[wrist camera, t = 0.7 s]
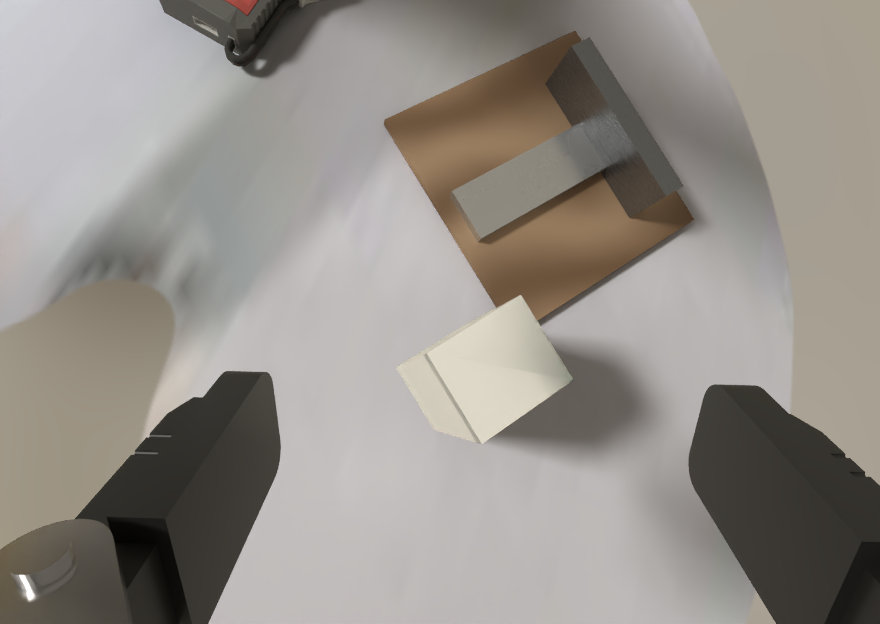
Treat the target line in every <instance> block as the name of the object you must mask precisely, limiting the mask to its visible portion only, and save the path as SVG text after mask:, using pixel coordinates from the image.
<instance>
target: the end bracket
mask: <svg viewBox="0 0 880 624" xmlns="http://www.w3.org/2000/svg"><path fill="white" fill-rule="evenodd" d="M545 84H546V86H547V88H548V89H549V91H550V92H551V94H552V96H553V97H554V99H555V100H556V102H557V104H558V105H559V107H560V108H561V110H562V112H563V113H564V115H565V116H566V118H567V120H568V121H569V123H570V124H571V126H572V127H573V126H575V125H577V124H580V126H581V127H582V129H583V130H584V132H585V134H586V135H587V137H588V138H589V140H590V142H591V143H592V145H593V146H594V148H595V150H596V151H597V153H598V154H599V156H600V158H601V159H602V161H603V162H604V164H605V166H606V168H605V169H604V170H602V171H601V174H602V175H603V177H604V179H605V180H606V182H607V183H608V185H609V187H610V188H611V190H612V191H613V193H614V195H615V196H616V198H617V199H618V201H619V202H620V204H621V206H622V207H623V209H624V210H625V212H626V214H627V215H628V217H629V218H630V217H632V216H634V215H636V214H637V213H639V212H641V211H642V210H644V209H646V208H647V207H649V206H651V205H652V204H654V203H656V202H657V201H659V200H661V199H662V198H664V197H666V196H667V195H669V194H671V193H672V192H674V191H676V190H677V189H679V188H680V187H682V186H683V184H682V183H681V181H680V180H679V178H678V177H677V175H676V173H675V172H674V170H673V169H672V167H671V165H670V164H669V162H668V161H667V159H666V158H665V156H664V154H663V153H662V151H661V150H660V148H659V146H658V145H657V143H656V142H655V140H654V139H653V137H652V135H651V134H650V132H649V131H648V129H647V127H646V126H645V124H644V123H643V121H642V120H641V118H640V116H639V115H638V113H637V112H636V110H635V108H634V107H633V105H632V104H631V102H630V101H629V99H628V97H627V96H626V94H625V93H624V91H623V89H622V88H621V86H620V85H619V83H618V82H617V80H616V78H615V77H614V75H613V74H612V72H611V70H610V69H609V67H608V66H607V64H606V63H605V61H604V59H603V58H602V56H601V55H600V53H599V51H598V50H597V48H596V47H595V45H594V44H593V42H592V40H591V39H590V37H589V38H587V39H585V40H583V41H581V42H579V43H577V44H575V45H573V46H571V47H570V49H569V50H568V52H567V53H566V55H565V56H564V57H563V59H562V60H561V62H560V63H559V65H558V66H557V67H556V69H555V70H554V72H553V73H552V75H551V76H550V78H549V79H548V80H547V82H546V83H545Z"/></svg>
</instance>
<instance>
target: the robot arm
mask: <svg viewBox="0 0 880 624" xmlns="http://www.w3.org/2000/svg"><path fill="white" fill-rule="evenodd" d="M280 450H281V445H280V435H279V427H278V419H277V411H276V404H275V396H274V388H273V382H272V378H271V376H270V374H269V373H267V372H241V371H226V372H224V373H223V374H222V375H221V376H220V377H219V378H218V380H217V381H216V382H215V383H214V385H213V386H212V387H211V388H210V389H209V391H208V392H207V393H206V394H205V396H204V397H203V398H198V397H193V398H192V399H190V400H189V401H187V402H185V403H184V404H182V405H181V406H179V407H177V408H176V409H174V410H173V411H171V412H169V413H168V414H167V415H166V416H165V417H164V418H163V419H162V420H161V422H160V423H159V424H158V425H157V426H156V427H155V428H154V430H153V431H152V432H151V433H150V437H149V438H146V439H145V440H144V441H143V442H142V443H141V444H140V445H139V447H138V448H137V449H136V450H135V454H134V455H131V456H130V457H129V458H128V459H127V460H126V461H125V462H124V464H123V465H122V466H121V467H120V468H119V469H118V470H117V472H116V473H115V474H114V475H113V476H112V477H111V479H110V480H109V481H108V482H107V483H106V484H105V485H104V486H103V487H102V489H101V490H100V491H99V492H98V493H97V494H96V495H95V497H94V498H93V499H92V500H91V501H90V502H89V503H88V505H87V506H86V507H85V508H84V509H83V510H82V512H81V513H80V514H79V515H78V516H77V517H76V518H75V519H74V520H65V521H61V522H56V523H53V524H50V525H46V526H43V527H41V528H38V529H36V530H33V531H31V532H29V533H27V534H25V535H23V536H21V537H19V538H17V539H16V540H14V541H13V542H11V543H9V544H8V545H6V546H5V547H3V548H2V549H1V550H0V624H208V623H209V620H210V618H211V616H212V614H213V612H214V610H215V607H216V605H217V603H218V601H219V599H220V596H221V594H222V592H223V590H224V588H225V586H226V583H227V581H228V579H229V577H230V575H231V572H232V570H233V568H234V566H235V564H236V561H237V559H238V557H239V555H240V553H241V551H242V548H243V546H244V544H245V542H246V540H247V537H248V535H249V533H250V531H251V529H252V526H253V524H254V522H255V520H256V518H257V516H258V513H259V511H260V509H261V507H262V505H263V502H264V500H265V498H266V496H267V494H268V492H269V489H270V487H271V485H272V483H273V481H274V478H275V476H276V473H277V470H278V466H279V461H280ZM689 473H690V478H691V481H692V484H693V487H694V489H695V491H696V492H697V494H698V496H699V497H700V499H701V501H702V502H703V504H704V506H705V507H706V509H707V510H708V512H709V514H710V515H711V517H712V519H713V520H714V522H715V524H716V525H717V527H718V529H719V530H720V532H721V534H722V535H723V537H724V538H725V540H726V542H727V543H728V545H729V547H730V548H731V550H732V552H733V553H734V555H735V557H736V558H737V560H738V562H739V563H740V565H741V566H742V568H743V570H744V571H745V573H746V575H747V576H748V578H749V580H750V581H751V583H752V585H753V586H754V588H755V589H756V591H757V593H758V594H759V596H760V598H761V599H762V601H763V603H764V604H765V606H766V608H767V609H768V611H769V613H770V614H771V616H772V617H773V619H774V621H775V622H776V624H880V486H879V485H878V484H877V483H876V482H875V481H874V480H873V479H872V478H871V477H866V476H865V472H864V471H863V470H862V469H861V468H860V467H859V466H858V465H857V464H856V463H855V462H854V461H852V460H851V459H850V458H846V457H845V453H844V452H843V451H842V450H841V449H839V448H838V447H837V446H836V445H835V444H834V443H833V442H832V441H831V440H830V439H829V438H828V437H827V436H825V435H824V434H823V433H822V432H821V431H819V430H817V429H815V428H813V427H812V426H810V425H808V424H807V423H805V422H803V421H802V420H800V419H798V418H797V417H795V416H793V415H791V414H788V413H787V412H786V411H785V410H784V409H783V408H782V407H781V406H780V405H779V404H778V403H777V402H776V401H775V400H774V399H773V398H772V397H771V396H770V395H769V394H768V393H767V392H766V391H765V390H763V389H762V388H761V387H759V386H751V385H712V386H710V387H709V388H708V389H707V391H706V393H705V395H704V398H703V402H702V406H701V410H700V414H699V418H698V422H697V426H696V430H695V433H694V437H693V441H692V445H691V449H690V453H689Z"/></svg>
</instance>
